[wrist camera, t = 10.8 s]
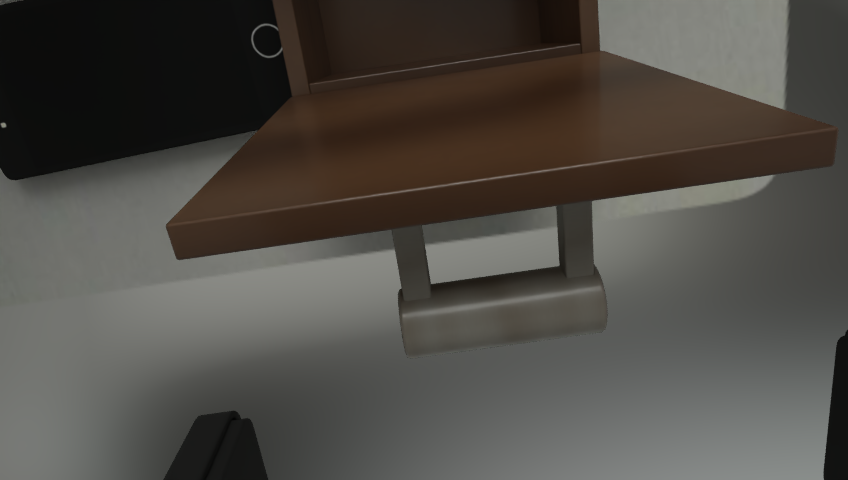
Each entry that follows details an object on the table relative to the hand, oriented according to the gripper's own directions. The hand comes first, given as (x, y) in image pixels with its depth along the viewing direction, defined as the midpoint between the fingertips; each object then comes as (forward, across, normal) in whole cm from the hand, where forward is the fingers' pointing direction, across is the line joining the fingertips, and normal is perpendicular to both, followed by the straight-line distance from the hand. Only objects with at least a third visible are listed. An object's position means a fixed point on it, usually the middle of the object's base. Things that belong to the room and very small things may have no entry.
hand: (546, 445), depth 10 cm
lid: (+11, 0, -4) cm, 11 cm away
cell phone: (+27, +16, -6) cm, 32 cm away
